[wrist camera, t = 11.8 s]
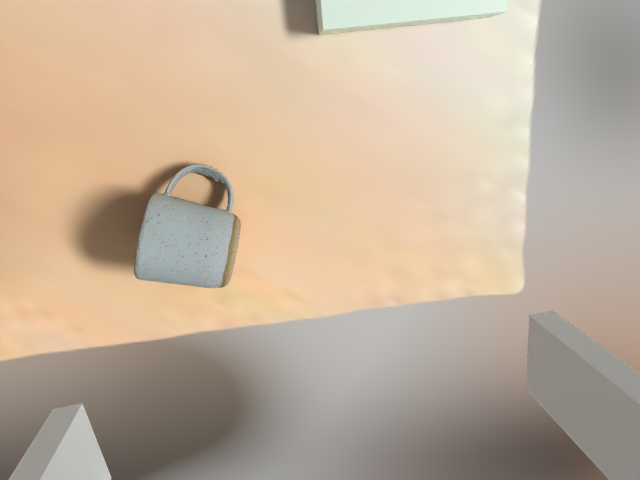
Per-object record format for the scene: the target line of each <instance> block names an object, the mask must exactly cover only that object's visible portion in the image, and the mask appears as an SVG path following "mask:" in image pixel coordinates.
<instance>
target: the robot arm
mask: <svg viewBox="0 0 640 480" xmlns="http://www.w3.org/2000/svg"><path fill="white" fill-rule="evenodd" d="M527 359H528V360H527V383H526V390H527V391H528V392H529V393H530V394H531V395H532V396H533V397H534V398H535V400H536V401H537V402H538V403H539V404H540V405H541V406H542V407H543V408H544V409H545V410H546V412H547V413H548V414H549V415H550V416H551V417H552V418H553V419H554V420H555V421H556V422H557V423H558V424H559V426H560V427H561V428H562V429H563V430H564V431H565V432H566V433H567V434H568V435H569V436H570V437H571V439H572V440H573V441H574V442H575V443H576V444H577V445H578V446H579V447H580V448H581V449H582V451H583V452H584V453H585V454H586V455H587V456H588V457H589V458H590V459H591V460H592V461H593V462H594V464H595V465H596V466H597V467H598V468H599V469H600V470H601V471H602V472H603V473H604V475H605V476H606V477H607V478H608V479H609V480H640V374H639V373H638V372H636V371H635V370H633V369H632V368H631V367H629V366H628V365H627V364H625V363H624V362H623V361H621V360H620V359H619V358H617V357H616V356H614V355H613V354H612V353H610V352H609V351H607V350H606V349H605V348H603V347H602V346H601V345H599V344H598V343H596V342H595V341H594V340H592V339H591V338H590V337H588V336H587V335H586V334H584V333H583V332H581V331H580V330H579V329H577V328H576V327H574V326H573V325H572V324H570V323H569V322H568V321H566V320H565V319H564V318H562V317H561V316H559V315H558V314H557V313H555V312H554V311H548V312H543V313H538V314H533V315H529V333H528V358H527ZM9 480H111V476H110V474H109V471H108V468H107V466H106V463H105V461H104V458H103V456H102V453H101V450H100V448H99V445H98V443H97V440H96V437H95V435H94V432H93V430H92V427H91V425H90V422H89V419H88V417H87V414H86V412H85V409H84V407H83V404H82V403H81V404H76V405H72V406H67V407H61V408H56V409H53V410H52V412H51V414H50V415H49V417H48V418H47V420H46V421H45V423H44V425H43V426H42V428H41V429H40V431H39V432H38V434H37V436H36V437H35V439H34V440H33V442H32V443H31V445H30V447H29V448H28V450H27V451H26V453H25V455H24V456H23V458H22V459H21V461H20V462H19V464H18V466H17V467H16V469H15V470H14V472H13V473H12V475H11V477H10V478H9Z"/></svg>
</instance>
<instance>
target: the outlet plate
mask: <svg viewBox="0 0 640 480" xmlns="http://www.w3.org/2000/svg"><path fill="white" fill-rule="evenodd" d="M315 3H316V14H317V24H318V34H319V35H320V34H330V33H339V32H349V31H359V30H369V29H379V28H389V27H399V26H409V25H419V24H429V23H438V22H448V21H458V20H468V19H478V18H488V17H492V16H495V15H498V14H501V13H504V12H507V0H315Z"/></svg>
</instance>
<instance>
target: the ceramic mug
mask: <svg viewBox="0 0 640 480" xmlns="http://www.w3.org/2000/svg"><path fill="white" fill-rule="evenodd" d="M190 172H192V173H194V172H197V173H199V174H202V175H206V176H208V177H211V178H213V179H214V180H215V181H216V182H221V183H223V184H224V186H225V188H226V190H227V193H228V207H227V210H222V209H218V208H213V207H209V206H206V205H200V204H196V203H193V202H190V201H186V200H183V199H178V198H174V197H171V192H172V190H173V188H174V186H175V185H176V183H177V182H178V181H179V180H180V178H181V177H183V176H184V175H186V174H188V173H190ZM232 206H233V191H232V187H231V184H230V182H229V181H228V179H227V178H226V177H225V175H224V174H223V173H222V172H220V171H218V170H217V169H215V168H213V167H210V166H207V165H202V164H194V165H189V166H187V167H185V168H183V169H182V170H180V171H179V172H178V173H176V174H175V176H174V177H173V178H172V179H171V181H170V182H169V184H168V186H167V188H166V191H165V193H164V194H158V193H155V194H153V195H152V196H151V198H150V200H149V201H148V204H147V207H146V210H145V213H144V217H143V220H142V225H141V228H140V233H139V237H138V243H137V249H136V257H135V265H134V274H135V276H136V278H137V279H140V280H149V281H158V282H165V283H173V284H182V285H190V286H197V287H204V288H221V287H224V286H226V285H227V284H228V283H229V281H230V278H231V275H232V271H233V267H234V263H235V257H236V252H237V246H238V241H239V235H240V227H241V223H240V220H239V218H238V217H237V216H236V215H234V214H233V213H232V211H231V210H232Z"/></svg>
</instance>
